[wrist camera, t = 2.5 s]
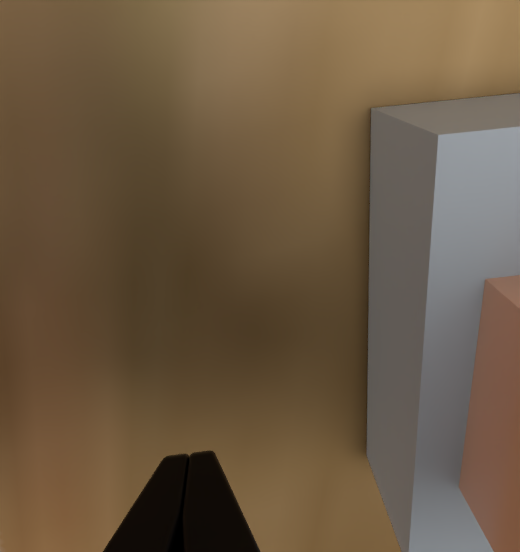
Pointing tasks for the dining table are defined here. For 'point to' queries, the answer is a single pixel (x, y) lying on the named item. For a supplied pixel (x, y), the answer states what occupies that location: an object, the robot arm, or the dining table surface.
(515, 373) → the tile
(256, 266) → the dining table surface
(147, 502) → the robot arm
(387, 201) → the light grey slab
